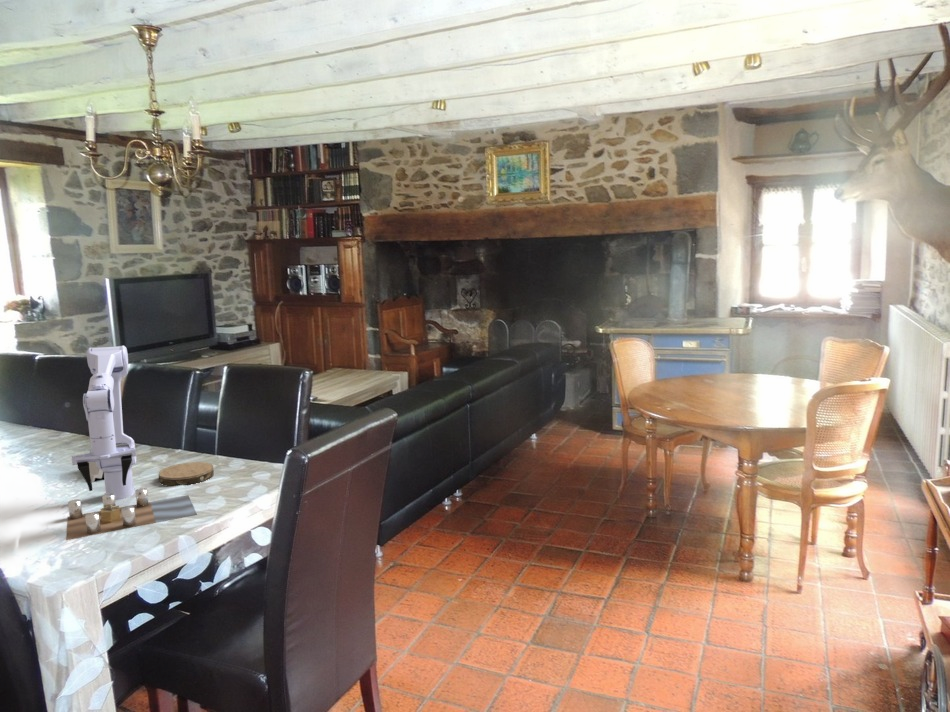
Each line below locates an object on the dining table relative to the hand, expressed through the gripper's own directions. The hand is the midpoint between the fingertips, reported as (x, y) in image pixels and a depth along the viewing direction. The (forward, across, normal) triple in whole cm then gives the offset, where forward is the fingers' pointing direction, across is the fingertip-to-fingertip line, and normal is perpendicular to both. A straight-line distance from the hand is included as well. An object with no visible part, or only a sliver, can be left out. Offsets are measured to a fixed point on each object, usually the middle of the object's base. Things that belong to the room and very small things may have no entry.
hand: (107, 487), depth 177 cm
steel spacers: (+10, 0, 0) cm, 10 cm away
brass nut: (+9, 0, 0) cm, 9 cm away
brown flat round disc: (+10, +22, +30) cm, 38 cm away
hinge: (+9, -2, +51) cm, 51 cm away
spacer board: (+10, +5, 0) cm, 11 cm away
